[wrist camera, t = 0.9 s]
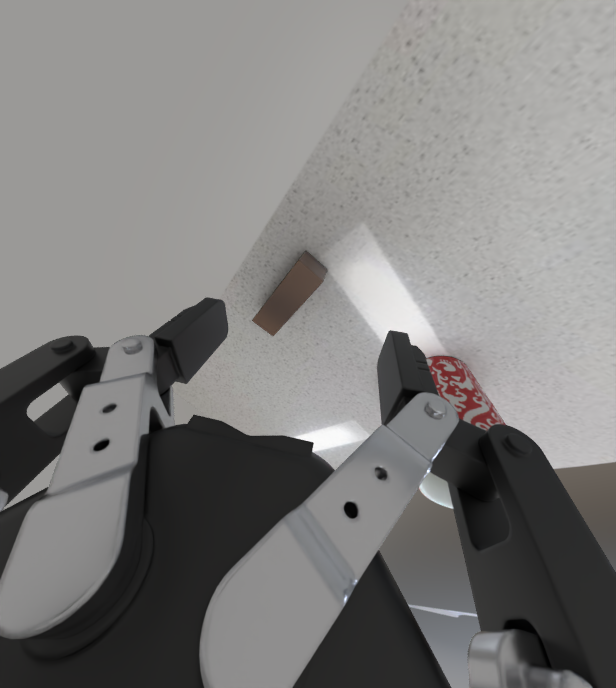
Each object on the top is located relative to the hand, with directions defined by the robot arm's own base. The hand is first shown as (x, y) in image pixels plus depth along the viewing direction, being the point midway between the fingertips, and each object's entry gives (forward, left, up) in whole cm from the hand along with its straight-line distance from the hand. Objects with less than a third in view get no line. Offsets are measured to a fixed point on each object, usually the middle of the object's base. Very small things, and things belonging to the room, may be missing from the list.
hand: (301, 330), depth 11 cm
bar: (+3, -5, -15) cm, 16 cm away
